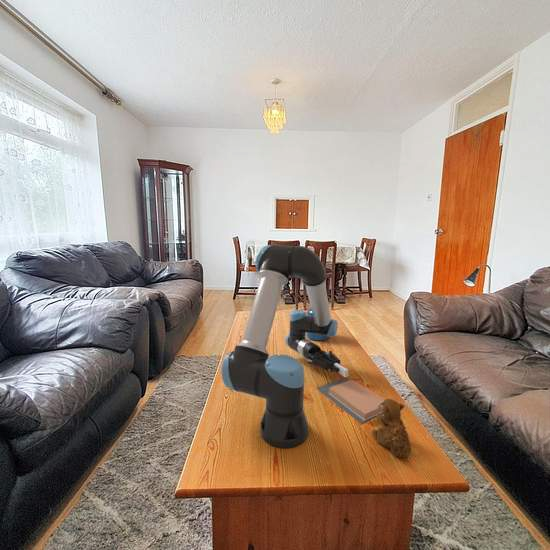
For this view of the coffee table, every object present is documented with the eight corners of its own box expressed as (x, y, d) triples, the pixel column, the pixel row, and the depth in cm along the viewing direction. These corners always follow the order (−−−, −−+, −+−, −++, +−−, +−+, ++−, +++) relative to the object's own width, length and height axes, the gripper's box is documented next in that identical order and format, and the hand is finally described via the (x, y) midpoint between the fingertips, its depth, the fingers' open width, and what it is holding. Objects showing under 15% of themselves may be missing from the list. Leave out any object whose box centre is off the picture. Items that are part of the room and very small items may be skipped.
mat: (315, 388, 115) (315, 387, 115) (345, 378, 123) (345, 377, 123) (360, 424, 95) (360, 423, 95) (393, 409, 103) (393, 408, 103)
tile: (329, 387, 111) (365, 414, 96) (352, 379, 117) (389, 403, 102) (328, 393, 111) (364, 420, 96) (351, 385, 117) (389, 409, 102)
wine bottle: (331, 341, 162) (333, 288, 157) (308, 341, 161) (309, 289, 156) (326, 332, 175) (327, 283, 170) (304, 332, 175) (305, 283, 170)
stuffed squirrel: (400, 429, 93) (404, 391, 90) (421, 466, 79) (426, 422, 76) (369, 429, 93) (371, 391, 91) (384, 465, 79) (388, 421, 77)
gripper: (320, 355, 134) (358, 378, 114) (297, 361, 128) (333, 387, 108) (321, 339, 133) (359, 360, 113) (297, 345, 127) (334, 368, 107)
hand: (346, 373), depth 110 cm, fingers closed
